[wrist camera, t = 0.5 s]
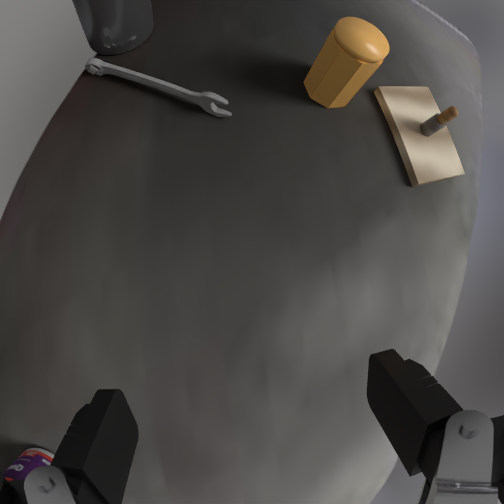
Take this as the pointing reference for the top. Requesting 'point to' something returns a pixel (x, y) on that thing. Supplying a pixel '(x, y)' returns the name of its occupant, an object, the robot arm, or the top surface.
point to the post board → (420, 133)
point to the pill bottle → (28, 463)
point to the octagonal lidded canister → (345, 62)
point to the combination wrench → (162, 86)
